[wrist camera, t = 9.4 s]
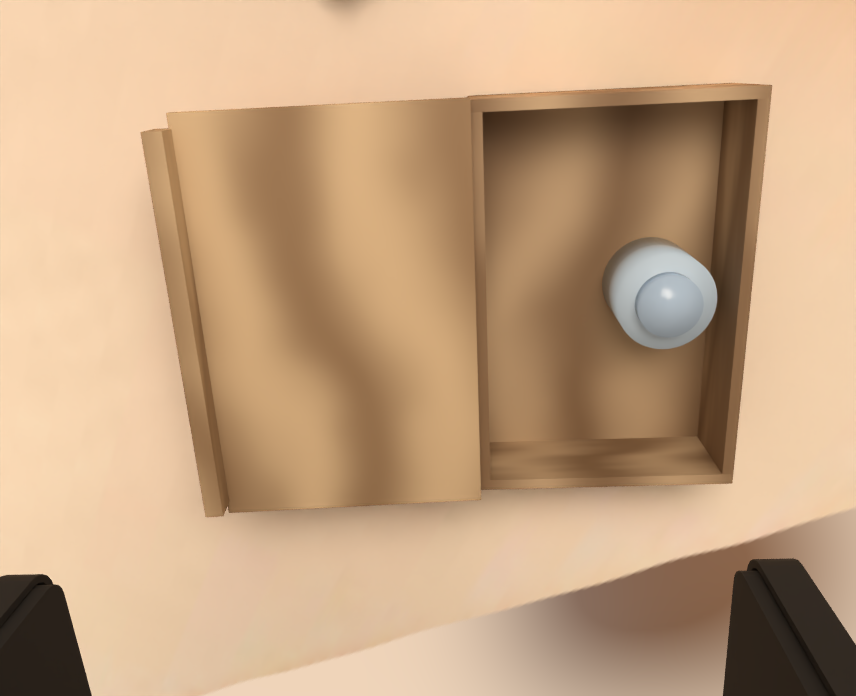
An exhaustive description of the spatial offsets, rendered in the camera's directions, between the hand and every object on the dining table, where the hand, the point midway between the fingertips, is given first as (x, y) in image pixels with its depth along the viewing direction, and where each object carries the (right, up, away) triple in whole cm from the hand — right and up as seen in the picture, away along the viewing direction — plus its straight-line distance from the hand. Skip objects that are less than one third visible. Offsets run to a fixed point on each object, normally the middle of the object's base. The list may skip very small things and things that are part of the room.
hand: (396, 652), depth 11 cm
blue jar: (+11, +8, +27) cm, 30 cm away
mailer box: (+9, +8, +27) cm, 30 cm away
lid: (-4, +5, +21) cm, 22 cm away
